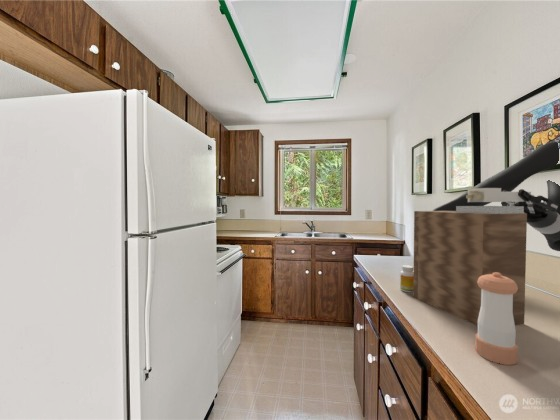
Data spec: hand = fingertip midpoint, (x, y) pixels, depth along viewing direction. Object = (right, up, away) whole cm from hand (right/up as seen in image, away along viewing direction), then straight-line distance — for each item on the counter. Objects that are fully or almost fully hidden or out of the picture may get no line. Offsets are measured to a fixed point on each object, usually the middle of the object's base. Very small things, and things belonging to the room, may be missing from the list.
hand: (511, 192), depth 77 cm
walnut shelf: (-12, -38, +5) cm, 40 cm away
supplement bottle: (-21, -38, +22) cm, 49 cm away
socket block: (-9, -6, -2) cm, 12 cm away
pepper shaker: (-22, -39, -20) cm, 49 cm away
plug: (-4, -3, -1) cm, 5 cm away
